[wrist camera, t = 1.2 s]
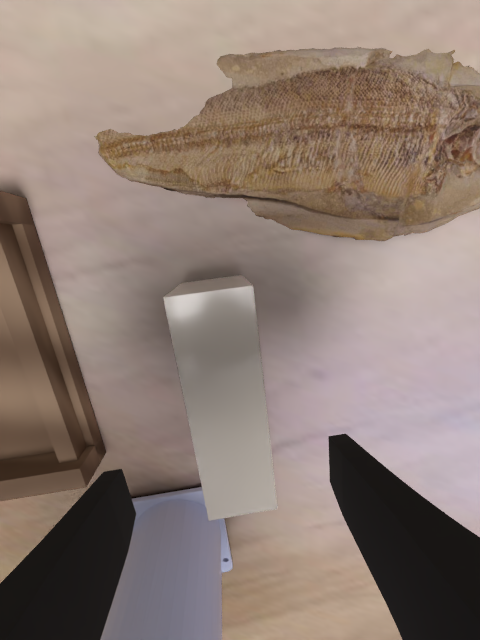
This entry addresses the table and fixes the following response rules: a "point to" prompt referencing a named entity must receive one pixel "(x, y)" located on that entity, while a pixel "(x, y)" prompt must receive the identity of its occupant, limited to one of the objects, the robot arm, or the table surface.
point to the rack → (38, 373)
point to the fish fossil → (326, 142)
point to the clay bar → (224, 392)
